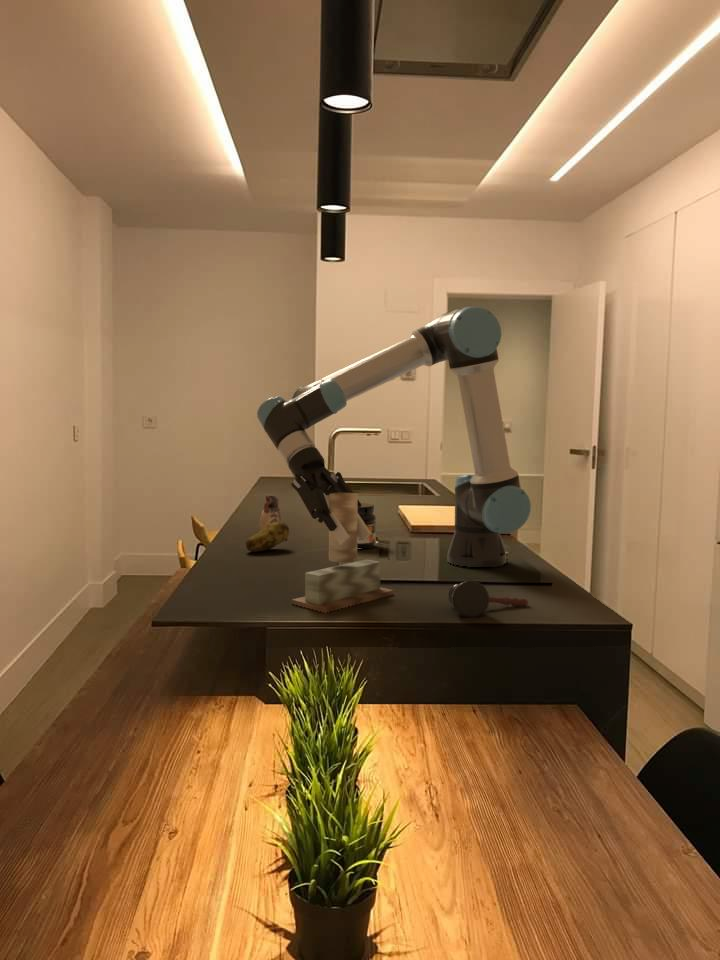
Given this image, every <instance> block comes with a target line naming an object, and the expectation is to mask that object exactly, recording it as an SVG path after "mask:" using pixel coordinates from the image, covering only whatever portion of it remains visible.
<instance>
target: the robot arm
mask: <svg viewBox="0 0 720 960" xmlns="http://www.w3.org/2000/svg"><path fill="white" fill-rule="evenodd" d="M501 340H502V326H501V325H500V322H499V320H498V318H497V316H496V315H495V314H494V313H493V312H492V311H490V310H489V309H487V308H485V307H482V306H472V305H471V306H464V307H462V308H458V309H455V310H451V311H450V310H449V311H448V312H446V313H443V314H442V315H440V316H438V317H437V318H435V319H433V320H432V321H430V322H428V323H427V324H424V325H423V326H421V327H419V328H418V329H417V328H416V329H415V330H414V331H412V332H411V336H409V337H407V338H406V339H404V340H401V341H399V342H397V343H395V344H393V345H391V346H388V347H386V348H384V349H382V350H380V351H378V352H375V353H373V354H371V355H369V356H367V357H365V358H362V359H361V360H359V361H357V362H355V363H352V364H350V365H349V366H346V367H344V368H341V369H339V370H338V371H335V372H332V373H331V374H329V375H327V376H325V377H322V378H321V379H319V380H317V381H314V382H312V383H310V384H307V385H302V386H300V387H299V388H297V389H296V390H295V391H294V392H293V394H292V396H291V399H289V400H285V399H284V397H282V396H274V397H269V398H268V399H266V400H265V401H263V402H262V403H261V404H260V405H259V407H258V409H257V412H256V417H257V419H258V421H259V423H260V424H261V426H262V428H263V429H264V432H265V433H266V435H267V436H268V438H269V439H270V440H271V442H272V444H273V445H274V447H275V448H276V449H277V451H278V452H279V454H280V456H281V457H282V459H283V461H284V462H285V463H286V465H288V469H289V471H290V472H291V473H292V475H293V476H294V479H293V481H292V482H291V483H290V485H291V487H292V488H293V489H294V490H295V491H296V492H297V494H298V495H299V497H300V499H301V501H302V502H303V504H304V506H305V507H306V509H307V511H308V512H309V515H310V516H311V518H312V519H314V520H316V519H317V522H319V523H320V524H321V523H324V524H325V526H326V527H327V529H328V531H329V530H330V531H331V532H332V533H333V535H334V536H335V538H336V539H337V541H338V542H339V544H340V545H343V544H344V543H345V542H346V541H347V540H348V539H349V535H348V534H347V532H346V531H345V529H344V528H343V526H342V524H341V523H340V521H339V520H338V518H337V517H336V515H335V514H334V513H331V514H329V513H330V511H329V504H328V501H327V500H326V497H325V496H329V494H331V493H354V492H353V490H352V489H351V488H350V486H349V485H348V484H347V483H346V481H345V480H344V478H343V475H342V473H341V472H339V471H337V472H336V473H335V474H334V473H331V472H330V470H328V469H327V468H326V466H325V463H326V461H325V459H324V457H323V455H322V454H321V452H320V451H319V450H318V448H317V447H316V445H315V442H313V440H312V438H311V437H310V436H309V434H308V433H307V431H306V430H307V429H309V428H310V427H313V426H314V425H316V424H318V423H320V422H321V421H323V420H325V419H327V418H330V417H331V416H332V415H334V414H335V415H336V414H337V413H338V412H339V411H341V410H343V409H344V408H345V407H347V402H348V401H351V400H352V399H354V398H356V397H359V396H361V395H362V394H365V393H368V392H369V391H371V390H374V389H375V388H378V387H380V386H382V385H384V384H386V383H389V382H391V381H393V380H395V379H396V378H399V377H401V376H403V375H405V374H407V373H409V372H412V371H413V370H416V369H418V368H420V367H422V366H426V367H429V368H430V367H432V366H434V365H436V364H438V363H441V362H445V361H447V362H448V366H449V367H448V368H449V371H451V372H452V373H453V374H455V375H456V376H457V380H458V385H459V391H460V396H461V402H462V407H463V408H462V409H463V414H464V419H465V423H466V425H465V426H466V429H467V436H468V441H469V446H470V447H469V448H470V451H471V452H470V453H471V458H472V463H473V470H474V474H464V475H463V474H462V475H461V474H460V475H458V476H457V477H456V479H455V486H454V533H453V537H452V538H451V542H450V544H449V548H448V551H447V556H446V557H447V563H448V562H449V563H448V564H450V563H451V564H450V565H453V564H454V565H453V566H456V565H459V566H458V567H462V566H467V567H466V568H470V567H492V568H498V566H499V567H502V566H504V564H505V563H506V564H507V554H506V550H505V547H504V544H503V540H502V536H501V534H510V533H514V532H516V531H518V530H520V529H521V528H522V527H523V526H524V525H525V524H526V522H527V521H528V519H529V518H530V514H531V510H532V509H531V508H532V505H531V500H530V497H529V496H528V494H527V493H526V491H525V490H524V489H522V488H521V482H520V476H519V472H518V471H517V470H515V469H514V468H513V467H512V466H511V462H510V457H509V450H508V445H507V440H506V434H505V427H504V422H503V421H504V420H503V417H502V410H501V404H500V400H499V393H498V387H497V382H496V381H497V380H496V376H495V367H496V366H497V364H498V362H499V355H498V349H497V348H498V346H499V345H500V342H501ZM361 503H362V502H360V500H359V499H358V504H357V534H358V536H359V537H360V539H361V540H362V541H365V540H366V539H367V537H368V536H369V535H370V534H371V532H370V531H369V529H368V528H367V526H366V525H365V523H364V520H363V518H362V517H361V515H360V514H359V512H358V509H359V508H360V507H361V506H362V505H361ZM506 564H505V565H506Z"/></svg>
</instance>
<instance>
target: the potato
mask: <svg viewBox="0 0 720 960" xmlns="http://www.w3.org/2000/svg"><path fill="white" fill-rule="evenodd" d="M289 533H290V527H289V526H288V525H287V523H285V522H283V521H281V522H280V521H275V522H271V523H270V524H268V525H266V526H265V527H264V528H263V529H261V530H260V529H259V531H258V532H256V533H254V534H253V535H252V536H250V537H248V538H247V540H246V542H245V544H246V549H247V550H248V552H251V553H257V552H266V551H268V550H271V549H273V548H275V547H277V545H280V544H281V543H284V542H287V541H288V537H289Z"/></svg>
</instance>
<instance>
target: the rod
mask: <svg viewBox="0 0 720 960" xmlns="http://www.w3.org/2000/svg"><path fill="white" fill-rule="evenodd" d="M328 496H329V497H328V508H329V511H330V513H329V514H331V513H334V514H335V515H336V517H337V518H338V520H339V521H340V523H341V524H342V526H343V528H344V529H345V531H346V532H347V534H348V535H349V539H348V540H347V541H346V542H345V543H344V544H343V545H340V544H339V542H338V541H337V539H336V538H335V536H334V535H333V533H332V532H331V531H330V530H329V529H328V560H329V561H331V562H332V563H352V562H357V561H358V549H357V504H358V500H359V497H358V493H354V492H353V493H331V494H329V495H328Z"/></svg>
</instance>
